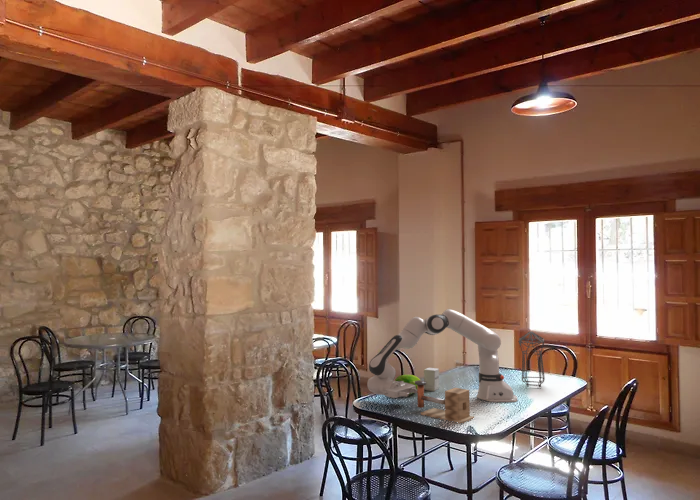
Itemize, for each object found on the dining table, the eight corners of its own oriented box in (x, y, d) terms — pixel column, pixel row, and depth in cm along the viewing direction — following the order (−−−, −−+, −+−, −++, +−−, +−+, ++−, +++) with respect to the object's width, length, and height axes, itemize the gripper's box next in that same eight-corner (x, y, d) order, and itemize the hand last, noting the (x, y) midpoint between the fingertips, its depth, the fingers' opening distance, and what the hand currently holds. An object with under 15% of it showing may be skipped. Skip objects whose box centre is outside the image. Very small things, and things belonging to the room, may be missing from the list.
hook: (412, 406, 269) (412, 381, 269) (419, 404, 273) (419, 379, 274) (442, 413, 257) (441, 387, 257) (448, 410, 261) (448, 385, 262)
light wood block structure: (420, 414, 262) (420, 387, 262) (433, 409, 271) (433, 383, 271) (462, 424, 246) (461, 394, 246) (474, 418, 255) (474, 390, 255)
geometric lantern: (546, 390, 313) (544, 333, 314) (519, 389, 318) (517, 332, 319) (546, 384, 327) (544, 330, 328) (521, 383, 333) (518, 329, 334)
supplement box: (434, 391, 311) (434, 370, 311) (423, 389, 315) (423, 369, 315) (439, 388, 317) (439, 368, 318) (428, 387, 321) (428, 367, 322)
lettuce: (429, 392, 307) (429, 372, 307) (408, 399, 293) (408, 378, 293) (411, 389, 317) (411, 369, 317) (390, 394, 303) (390, 374, 303)
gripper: (380, 386, 274) (401, 390, 264) (403, 380, 289) (423, 384, 280) (380, 398, 273) (401, 402, 264) (403, 391, 289) (423, 395, 279)
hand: (413, 393), depth 272 cm, fingers open, 8 cm apart
